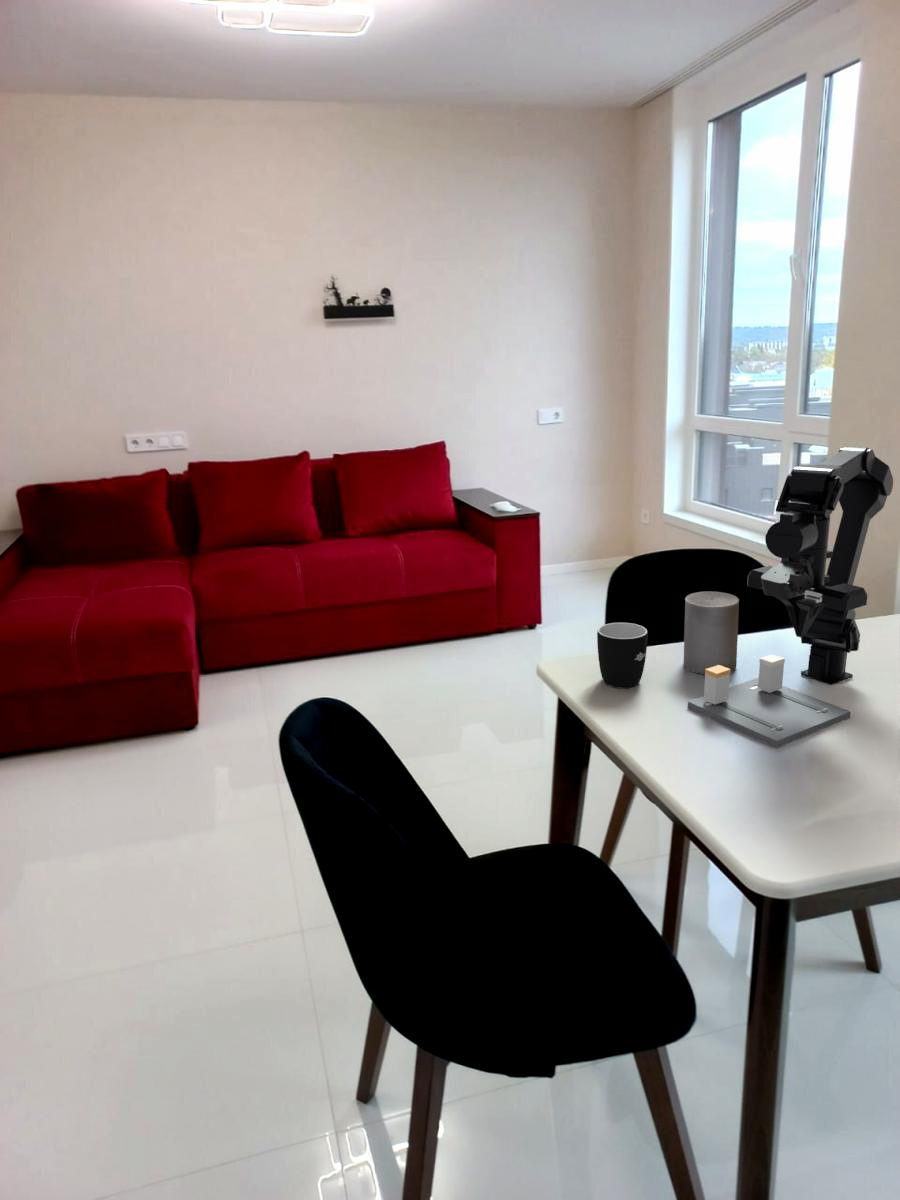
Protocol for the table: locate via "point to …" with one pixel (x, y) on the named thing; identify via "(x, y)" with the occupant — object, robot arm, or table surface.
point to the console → (771, 713)
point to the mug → (622, 653)
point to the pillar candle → (710, 631)
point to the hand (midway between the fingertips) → (800, 636)
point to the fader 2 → (771, 673)
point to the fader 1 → (717, 684)
